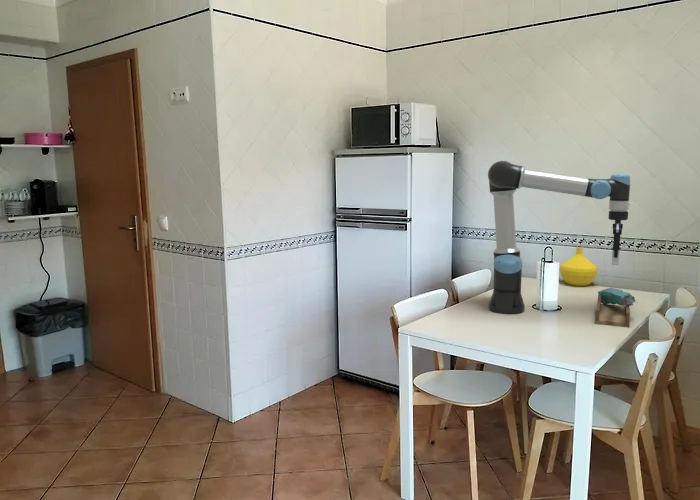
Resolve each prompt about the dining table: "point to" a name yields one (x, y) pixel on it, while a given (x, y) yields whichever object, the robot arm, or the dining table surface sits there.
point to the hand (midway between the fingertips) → (615, 264)
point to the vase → (578, 270)
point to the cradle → (612, 314)
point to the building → (616, 297)
